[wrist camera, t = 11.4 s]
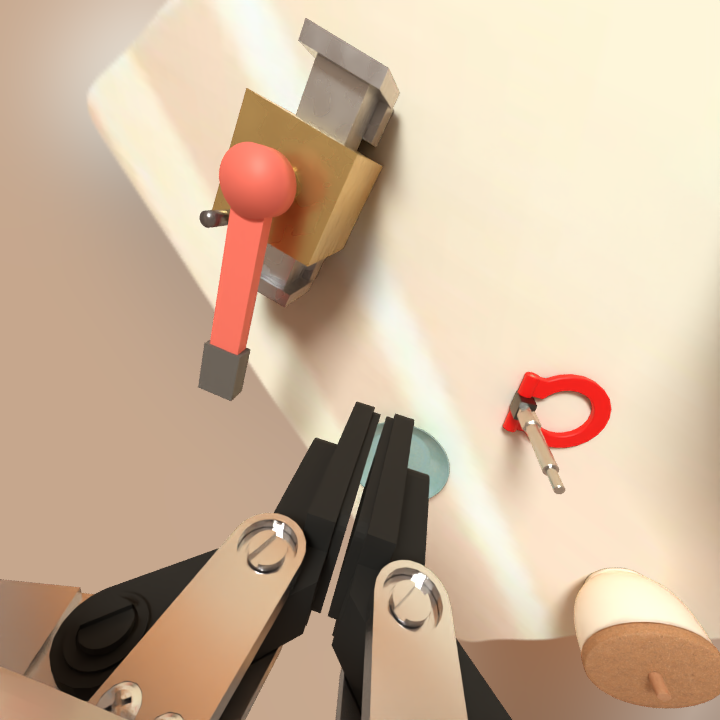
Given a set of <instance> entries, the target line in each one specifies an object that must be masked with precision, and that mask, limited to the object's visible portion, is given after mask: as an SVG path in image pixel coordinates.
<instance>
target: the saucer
mask: <svg viewBox="0 0 720 720" xmlns="http://www.w3.org/2000/svg"><path fill="white" fill-rule="evenodd" d="M384 423H385V422H384ZM384 423H379V424H378V425H377V428H376V432H375V435H374V438H373V442H372V445H371V448H370V452H369V455H368V458H367V462H366V465H365V468H364V471H363V475H362V478H361V481H360V484H361V485H362V486H363V487H365V484H366V480H367V477H368V474H369V471H370V468H371V464H372V461H373V458H374V455H375V452H376V449H377V445H378V442H379V439H380V436H381V433H382V429H383V426H384ZM408 468H410V469H413V470H416V471H419V472H422V473H425V474H428V475H429V477H430V484H429V498H431V497H433V496H434V495H436V494H437V493H439V492H440V491H441V490H442V488H443V487H444V486H445V484H446V482H447V480H448V477H449V470H450V467H449V460H448V457H447V455H446V452H445V451H444V449H443V447H442V446H441V445H440V443H439V442H438V441H437V440H436V439H435V438H434V437H433V436H431V435H430V434H428V433H427V432H425V431H424V430H422V429H420V428H418V427H415V426H413V433H412V440H411V447H410V454H409V461H408Z"/></svg>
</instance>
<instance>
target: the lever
mask: <svg viewBox="0 0 720 720" xmlns="http://www.w3.org/2000/svg"><path fill="white" fill-rule="evenodd" d="M219 181H220V186H221V190H222V193H223V195H224V198H225V199H226V201H227V203H228V204H229V205H230V207H231V208H230V215H229V221H228V228H227V234H226V241H225V248H224V254H223V261H222V267H221V274H220V281H219V287H218V294H217V300H216V307H215V314H214V321H213V327H212V334H211V340H209V341H207V342H206V343H205V344H204V351H203V358H202V365H201V372H200V379H199V386H198V387H199V388H201V389H204V390H206V391H208V392H211V393H213V394H215V395H218V396H220V397H222V398H225V399H227V400H229V401H232V400H233V399H234V398H235V397H236V396H237V395H238V394H239V393H240V392H241V391H242V387H243V382H244V377H245V373H246V368H247V363H248V359H249V354H250V349H248V348H246V344H247V340H248V335H249V330H250V325H251V320H252V315H253V310H254V306H255V301H256V296H257V291H258V286H259V281H260V276H261V272H262V267H263V262H264V257H265V252H266V247H267V242H268V238H269V233H270V228H271V223H272V218H273V217H277V216H280V215H282V214H283V213H285V212H286V211H287V210H288V209H289V208H290V206H291V205H292V203H293V201H294V198H295V195H296V187H297V184H296V176H295V173H294V170H293V167H292V166H291V164H290V162H289V161H288V159H287V158H286V157H285V156H284V155H283V154H282V153H281V152H279V151H278V150H276V149H274V148H271V147H267V146H264V145H260V144H257V143H253V142H242V143H238V144H236V145H234V146H233V147H231V148H230V149H229V150H228V151H227V152H226V154H225V155H224V157H223V159H222V162H221V165H220V170H219Z"/></svg>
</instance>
